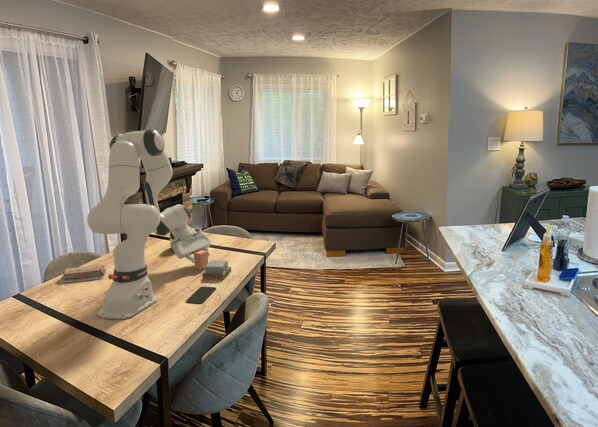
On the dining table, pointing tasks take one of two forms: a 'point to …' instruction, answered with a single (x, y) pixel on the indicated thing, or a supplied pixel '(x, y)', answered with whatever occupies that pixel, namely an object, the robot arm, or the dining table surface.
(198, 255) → the terracotta block
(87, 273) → the packaged product
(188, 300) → the phone
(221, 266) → the slate slab
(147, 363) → the dining table surface
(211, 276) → the walnut slab
